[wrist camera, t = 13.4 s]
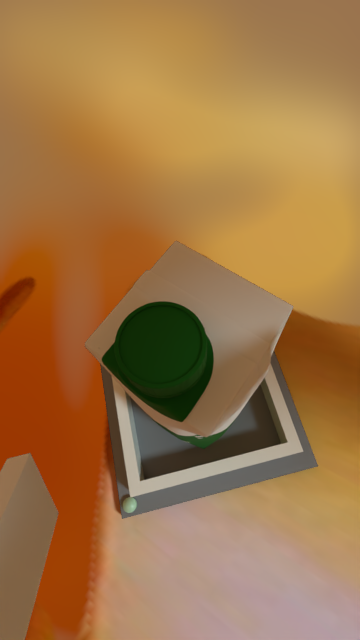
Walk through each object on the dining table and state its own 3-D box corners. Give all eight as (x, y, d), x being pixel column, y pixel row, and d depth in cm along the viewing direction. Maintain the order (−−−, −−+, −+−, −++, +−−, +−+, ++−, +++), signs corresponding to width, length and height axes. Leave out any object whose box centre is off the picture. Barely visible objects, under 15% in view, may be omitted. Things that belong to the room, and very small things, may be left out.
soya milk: (133, 407, 33) (48, 329, 14) (186, 338, 35) (171, 199, 17) (206, 464, 30) (215, 456, 12) (258, 384, 33) (328, 279, 15)
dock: (251, 300, 38) (256, 284, 35) (314, 466, 30) (327, 465, 27) (98, 337, 37) (89, 325, 34) (124, 517, 30) (115, 523, 26)
